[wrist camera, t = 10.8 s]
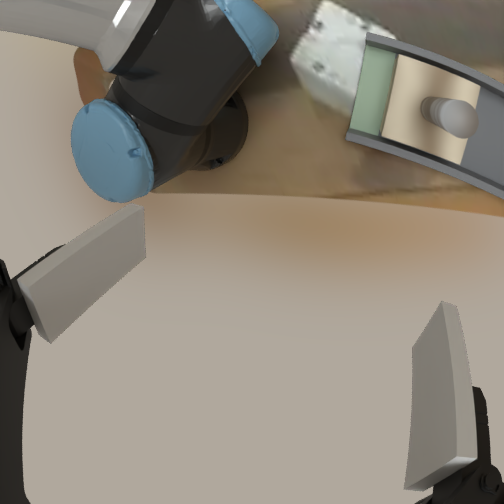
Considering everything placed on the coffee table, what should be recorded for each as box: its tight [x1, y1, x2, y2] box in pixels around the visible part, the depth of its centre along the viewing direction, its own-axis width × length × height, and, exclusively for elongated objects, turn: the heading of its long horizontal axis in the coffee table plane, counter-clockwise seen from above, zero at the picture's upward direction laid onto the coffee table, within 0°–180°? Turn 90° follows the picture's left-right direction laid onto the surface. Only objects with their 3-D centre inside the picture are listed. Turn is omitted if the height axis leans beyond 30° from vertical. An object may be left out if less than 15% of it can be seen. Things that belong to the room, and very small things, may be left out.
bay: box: [345, 32, 504, 199], centre depth 31 cm, size 30×14×6 cm, turn 80°
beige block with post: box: [380, 54, 480, 165], centre depth 26 cm, size 10×10×19 cm
